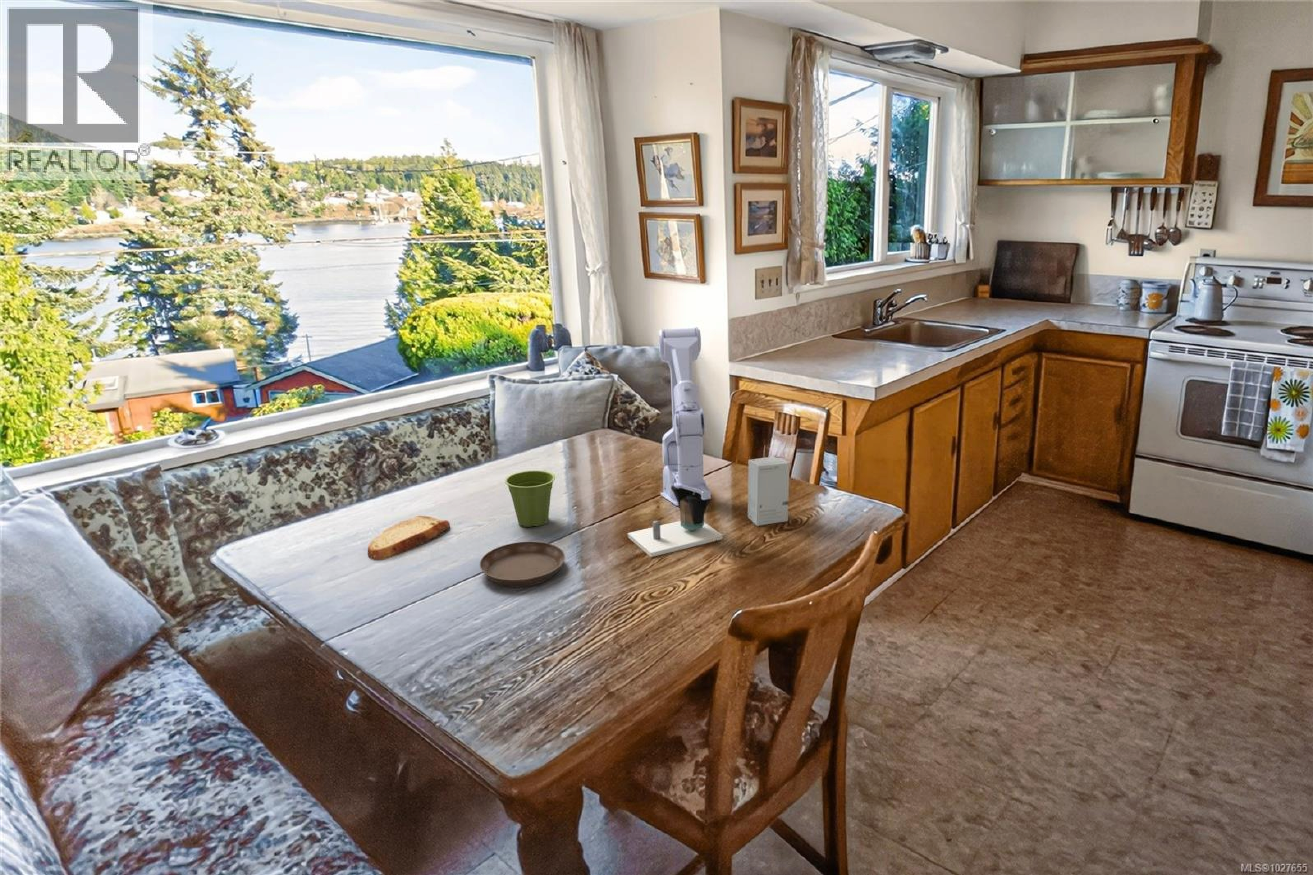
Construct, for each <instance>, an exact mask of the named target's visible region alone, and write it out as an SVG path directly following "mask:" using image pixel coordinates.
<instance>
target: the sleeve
mask: <svg viewBox="0 0 1313 875" xmlns="http://www.w3.org/2000/svg"><path fill="white" fill-rule="evenodd" d="M679 512H680V521H681V526H682V527H683V528H684V529H691V530H695V529H700V528H702V527H703V525H704V523H705V517H704V518H703V522H702V523H700V524H696V525H695V524H693V521H692V515H691V509H690V505H689V503H688V500H687V499H686V497H685V498H682V500H681V501H680V508H679Z"/></svg>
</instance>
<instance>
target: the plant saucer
mask: <svg viewBox="0 0 1313 875" xmlns="http://www.w3.org/2000/svg"><path fill="white" fill-rule="evenodd" d="M565 560H566V555H565V552H564V551H563V550H562V549H561V548H560V547H559V546H557V545H555V544H552V543H548V542H542V541H532V540H531V541H518V542H512V543H507V544H504V545H500V546H497V547H496V548H493V549H491V550H489V551H488V552H487V553H486V554H485V555H483V556H482V557H481V559H480V561H479V568H480V570H481V572H482V573H483V574H485V576H486V577H487V578H488V579H490V580H491V581H492V582H494V583H495V584H498V585H499V586H505V587H515V588H517V587H518V588H519V587H529V586H533V585H538V584H540V583H543V582H545V581H548V580H549V579H551V578H552V577H553V576H554V575H555V574H557V572H558V571H559V570H560V568H561V567H562V566H563V563H564V562H565Z"/></svg>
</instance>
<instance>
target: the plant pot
mask: <svg viewBox="0 0 1313 875" xmlns="http://www.w3.org/2000/svg"><path fill="white" fill-rule="evenodd" d="M555 479H556V476H555V474H553V473H552V472H550V471H546V470H537V469H536V470H525V471H519V472H515V473H513V474H511V475H508V476H507V477H506V478H505V479H504V483H505V484H506V486H508V491H509V493H510V496H511V501H512V502H513V507H514V512H515V517H516V519H517V523H518V524H519V525H520V526H522V527H525V528H531V527H540V526H543V525H545V524H547V523H548V521H549V515H550V514H549V513H550V507H551V506H550V505H551V497H552V496H551V495H552V490H553V484H554V481H555Z"/></svg>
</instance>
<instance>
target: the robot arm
mask: <svg viewBox="0 0 1313 875" xmlns="http://www.w3.org/2000/svg"><path fill="white" fill-rule="evenodd" d="M701 336H702V335H701V330H700V329H699V327H694V328H693V327H691V328H689V327H687V328H669V329H663V328H661V329H660V330H659V331H658V349H659V358H660V361H661V362H663V363H666V364H667V365H668V368H669V371H670V390H671V391H670V392H671V394H670V396H671V413H672V414H671V415H672V416H671V417H672V418H671V419H672V427H671V429H669V430H668V431H666V433H664V435H663V436H662V443H661V444H662V445H661V448H662V449H661V450H662V451H661V452H662V454H661V455H662V463H663V464H662V465H664V467H663V470H662V482H663V483H662V485H663V492H660V496H662V497H663V498H664V499H666V500H667V501H669V502H670V503H672V504H673V505H674V506H675V507H678V509H680V501H681V500H682V498H685V497H686V499H687V500H688V503H689V505H690V509H691V515H692V521H693V524H695V525H696V524H700V523H702V522H703V518H704V519H705V513H706V510H707V508H708V505H709V503H710V502H711V500H712V499H713V494H712V490H711V489H710V488H709V487H708V485H707V483H706V481H705V478H704V436H705V434H706V416H705V413H704V409H703V406H702V405H701V400H700V392H699V390H700V389H699V386H698V385H697V384H696V383H695V382H693V362H694V361H697V360H698V357H699V356H700V352H701V349H702V337H701Z"/></svg>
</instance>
